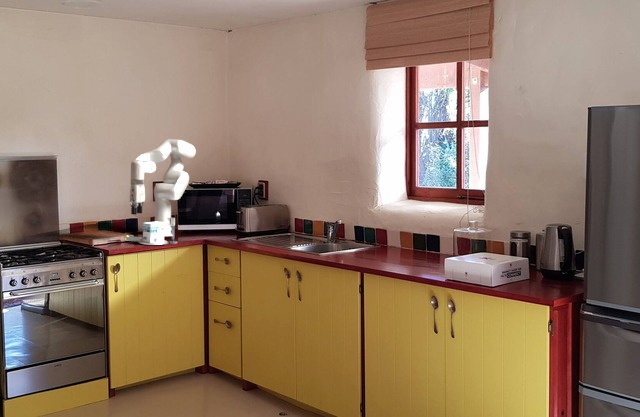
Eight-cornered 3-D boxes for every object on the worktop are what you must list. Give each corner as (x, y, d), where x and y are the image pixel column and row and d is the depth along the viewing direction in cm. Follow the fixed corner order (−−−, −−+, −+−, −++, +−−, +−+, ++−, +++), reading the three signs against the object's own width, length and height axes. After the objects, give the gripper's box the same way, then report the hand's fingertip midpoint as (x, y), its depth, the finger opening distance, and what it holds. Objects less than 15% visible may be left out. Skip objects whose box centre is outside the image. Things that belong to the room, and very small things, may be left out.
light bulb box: (150, 243, 417) (150, 223, 416) (142, 241, 420) (142, 222, 419) (164, 241, 425) (165, 222, 424) (156, 239, 429) (156, 221, 428)
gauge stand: (169, 242, 430) (169, 217, 428) (177, 243, 428) (177, 217, 427) (166, 243, 426) (166, 217, 425) (174, 244, 425) (174, 218, 423)
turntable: (131, 239, 435) (131, 233, 435) (172, 242, 428) (172, 237, 428) (117, 242, 420) (117, 237, 419) (159, 246, 413) (159, 241, 413)
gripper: (135, 183, 420) (135, 215, 422) (150, 182, 436) (149, 212, 438) (123, 183, 422) (123, 214, 424) (138, 181, 438) (138, 212, 440)
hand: (136, 213), depth 431 cm, fingers open, 5 cm apart
